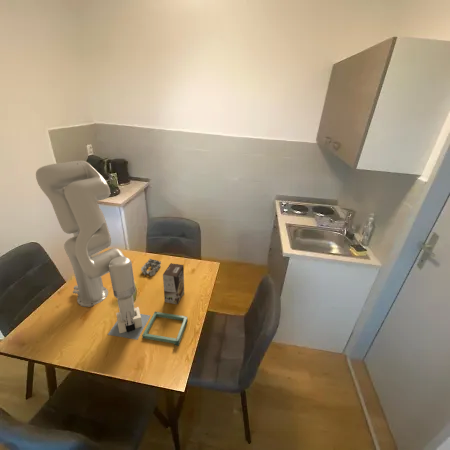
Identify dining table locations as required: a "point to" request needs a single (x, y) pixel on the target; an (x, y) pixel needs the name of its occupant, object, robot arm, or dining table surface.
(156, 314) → the tray
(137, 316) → the white hollow rectangular block
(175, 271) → the coffee box
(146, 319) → the grey plate with peg
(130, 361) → the dining table surface
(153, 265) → the grey chain bracelet
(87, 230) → the robot arm
